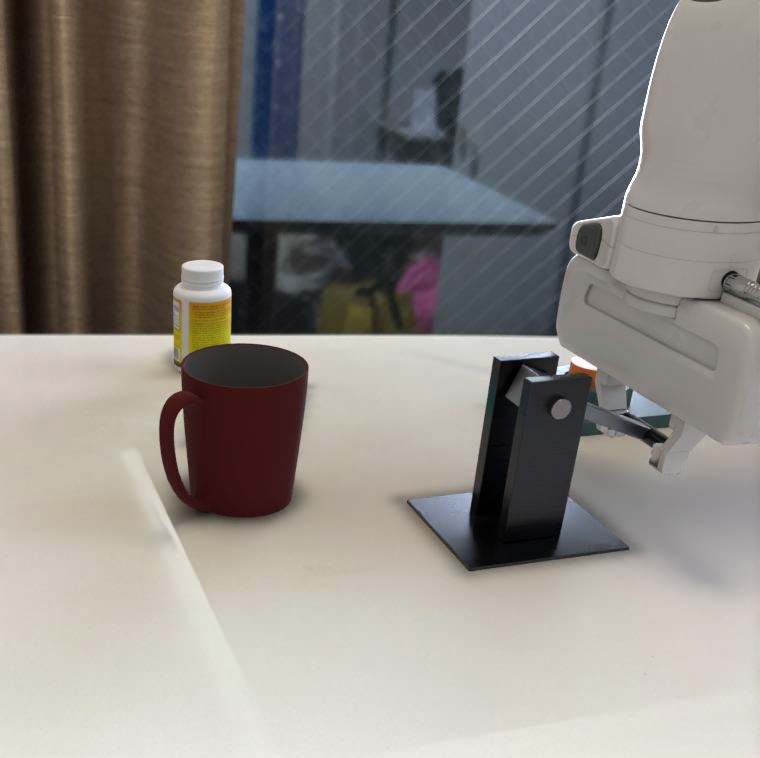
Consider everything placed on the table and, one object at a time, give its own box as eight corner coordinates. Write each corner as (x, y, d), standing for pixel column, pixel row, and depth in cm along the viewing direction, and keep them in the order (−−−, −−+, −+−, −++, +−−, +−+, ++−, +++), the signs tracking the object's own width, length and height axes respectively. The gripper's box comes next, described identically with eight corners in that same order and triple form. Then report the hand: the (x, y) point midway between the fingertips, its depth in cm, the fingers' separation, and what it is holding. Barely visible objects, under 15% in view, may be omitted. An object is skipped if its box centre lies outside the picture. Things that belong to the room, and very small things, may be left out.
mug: (209, 563, 70) (210, 411, 65) (124, 517, 76) (119, 373, 70) (324, 506, 78) (335, 366, 72) (240, 468, 83) (243, 335, 78)
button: (598, 371, 93) (602, 353, 92) (624, 388, 90) (628, 368, 89) (558, 375, 92) (562, 356, 91) (583, 391, 89) (587, 372, 88)
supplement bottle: (241, 368, 103) (244, 265, 98) (204, 383, 99) (205, 276, 94) (199, 355, 106) (200, 254, 101) (161, 369, 102) (160, 265, 97)
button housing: (610, 394, 98) (618, 353, 96) (676, 436, 90) (687, 393, 88) (495, 405, 96) (502, 363, 94) (552, 449, 87) (561, 405, 85)
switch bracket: (549, 496, 80) (581, 335, 73) (626, 562, 71) (669, 386, 65) (405, 513, 77) (424, 347, 71) (467, 584, 69) (495, 402, 62)
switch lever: (622, 436, 75) (640, 406, 75) (665, 465, 71) (684, 434, 70) (494, 388, 71) (511, 356, 70) (531, 417, 66) (550, 383, 66)
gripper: (851, 298, 59) (778, 515, 65) (635, 217, 76) (595, 395, 82) (756, 304, 57) (692, 525, 64) (558, 219, 74) (524, 401, 81)
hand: (636, 451), depth 73 cm, fingers closed on switch lever, 5 cm apart
